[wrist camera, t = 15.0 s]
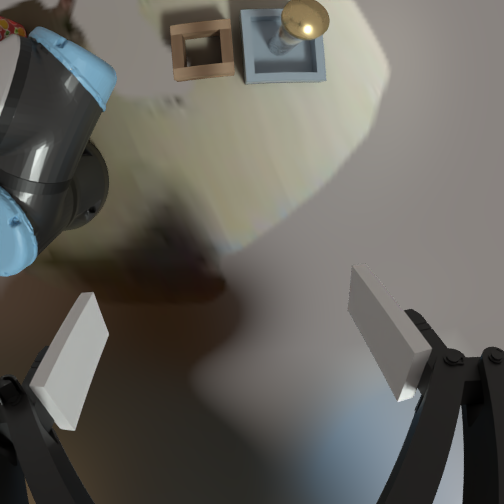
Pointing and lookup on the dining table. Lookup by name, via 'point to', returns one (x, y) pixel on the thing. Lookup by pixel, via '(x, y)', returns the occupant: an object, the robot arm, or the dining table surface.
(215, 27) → the block
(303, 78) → the tray
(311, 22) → the pin
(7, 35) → the smoothie
